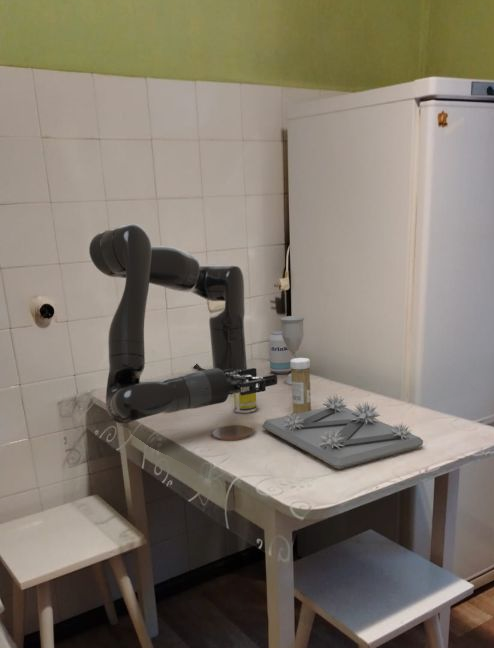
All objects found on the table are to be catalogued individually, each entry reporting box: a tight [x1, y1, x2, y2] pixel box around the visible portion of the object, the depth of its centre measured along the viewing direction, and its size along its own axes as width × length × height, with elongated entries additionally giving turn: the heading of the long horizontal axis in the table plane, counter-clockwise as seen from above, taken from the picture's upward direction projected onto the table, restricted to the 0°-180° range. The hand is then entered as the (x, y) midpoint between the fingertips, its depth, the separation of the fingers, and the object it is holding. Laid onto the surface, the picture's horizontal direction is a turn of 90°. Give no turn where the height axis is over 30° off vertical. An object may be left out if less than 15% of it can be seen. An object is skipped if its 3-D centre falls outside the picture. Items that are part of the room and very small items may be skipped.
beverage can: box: [268, 330, 292, 375], centre depth 192 cm, size 7×7×12 cm
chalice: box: [279, 315, 306, 385], centre depth 179 cm, size 7×7×18 cm
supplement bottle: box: [233, 370, 258, 414], centre depth 156 cm, size 5×5×10 cm
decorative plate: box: [261, 393, 424, 470], centre depth 134 cm, size 30×22×7 cm
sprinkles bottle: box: [290, 357, 312, 415], centre depth 150 cm, size 5×5×14 cm
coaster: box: [212, 424, 254, 442], centre depth 142 cm, size 9×9×1 cm
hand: (265, 375), depth 143 cm, fingers open, 8 cm apart
